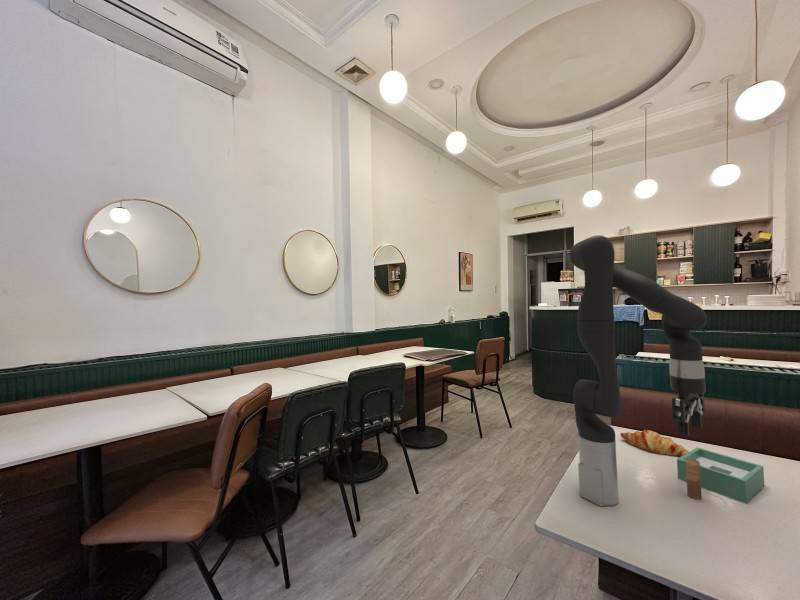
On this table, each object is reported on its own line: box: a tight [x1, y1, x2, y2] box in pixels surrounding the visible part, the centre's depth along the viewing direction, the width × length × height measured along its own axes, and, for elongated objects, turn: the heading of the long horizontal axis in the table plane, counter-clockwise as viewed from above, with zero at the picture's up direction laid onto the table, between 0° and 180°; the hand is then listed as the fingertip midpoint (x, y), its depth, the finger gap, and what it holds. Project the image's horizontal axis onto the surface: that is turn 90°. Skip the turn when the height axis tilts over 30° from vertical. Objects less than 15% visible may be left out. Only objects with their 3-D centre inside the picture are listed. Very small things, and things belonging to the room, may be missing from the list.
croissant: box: [620, 429, 690, 457], centre depth 120 cm, size 21×10×8 cm, turn 39°
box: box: [676, 447, 766, 504], centre depth 97 cm, size 15×15×6 cm
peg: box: [685, 459, 703, 501], centre depth 90 cm, size 3×3×10 cm
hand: (690, 431), depth 91 cm, fingers open, 8 cm apart
